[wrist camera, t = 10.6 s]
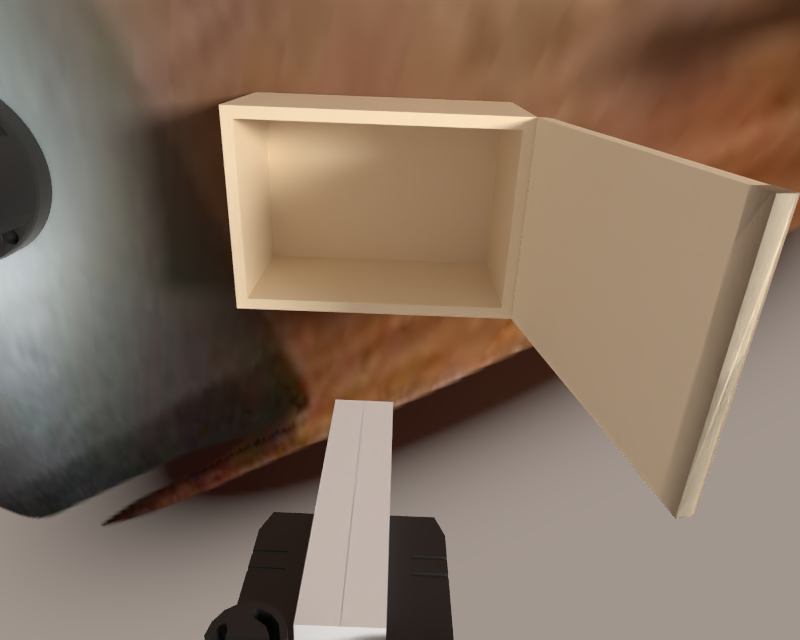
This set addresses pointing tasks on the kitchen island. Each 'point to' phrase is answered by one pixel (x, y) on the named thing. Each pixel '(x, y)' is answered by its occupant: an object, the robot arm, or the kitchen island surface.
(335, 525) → the robot arm
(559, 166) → the lid
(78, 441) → the kitchen island surface
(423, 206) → the carton
